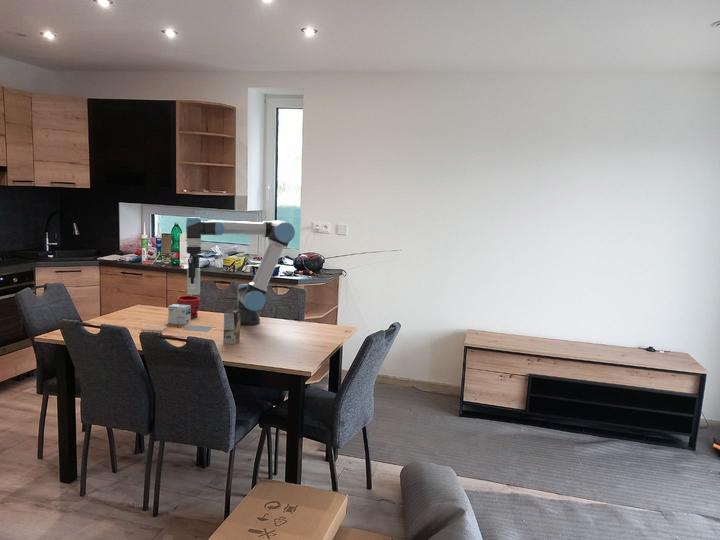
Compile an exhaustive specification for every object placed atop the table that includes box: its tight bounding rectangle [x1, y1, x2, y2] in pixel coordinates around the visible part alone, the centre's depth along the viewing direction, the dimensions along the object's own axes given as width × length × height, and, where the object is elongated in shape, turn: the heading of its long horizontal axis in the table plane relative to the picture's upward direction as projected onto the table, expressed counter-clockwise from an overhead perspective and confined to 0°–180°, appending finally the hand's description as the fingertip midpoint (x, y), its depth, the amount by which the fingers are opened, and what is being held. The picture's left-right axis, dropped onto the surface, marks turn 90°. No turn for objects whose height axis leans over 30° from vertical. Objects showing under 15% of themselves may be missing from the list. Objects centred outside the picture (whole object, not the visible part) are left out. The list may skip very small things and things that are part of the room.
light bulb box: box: [167, 303, 191, 326], centre depth 313 cm, size 11×7×11 cm, turn 84°
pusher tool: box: [186, 267, 201, 296], centre depth 298 cm, size 6×4×14 cm, turn 90°
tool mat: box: [182, 324, 214, 333], centre depth 303 cm, size 14×12×1 cm
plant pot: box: [176, 295, 201, 319], centre depth 332 cm, size 13×13×12 cm
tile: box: [140, 325, 168, 333], centre depth 294 cm, size 2×9×11 cm
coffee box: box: [222, 309, 241, 345], centre depth 280 cm, size 9×6×16 cm
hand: (194, 288), depth 299 cm, fingers closed on pusher tool, 3 cm apart
